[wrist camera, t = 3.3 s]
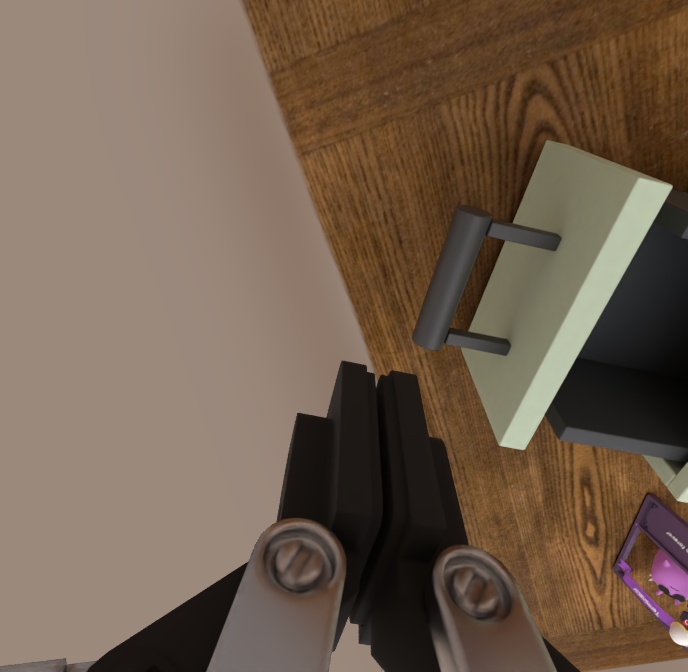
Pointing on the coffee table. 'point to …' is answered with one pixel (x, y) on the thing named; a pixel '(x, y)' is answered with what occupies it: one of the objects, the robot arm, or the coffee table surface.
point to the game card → (661, 562)
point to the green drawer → (575, 308)
